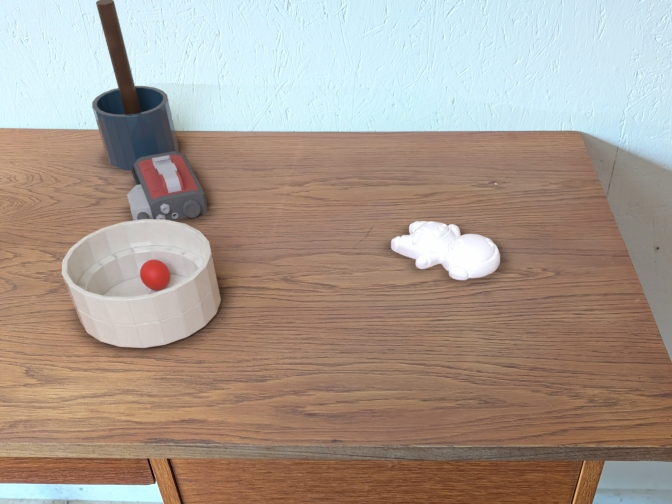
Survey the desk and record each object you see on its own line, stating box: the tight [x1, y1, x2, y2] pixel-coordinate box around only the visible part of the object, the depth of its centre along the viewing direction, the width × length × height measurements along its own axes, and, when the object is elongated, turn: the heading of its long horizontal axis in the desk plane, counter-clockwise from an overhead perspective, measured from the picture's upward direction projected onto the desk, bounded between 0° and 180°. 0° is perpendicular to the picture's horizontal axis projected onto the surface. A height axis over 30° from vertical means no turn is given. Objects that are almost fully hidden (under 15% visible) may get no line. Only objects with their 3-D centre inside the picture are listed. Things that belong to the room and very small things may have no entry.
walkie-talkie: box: [126, 151, 209, 221], centre depth 85 cm, size 9×4×20 cm
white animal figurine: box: [390, 220, 501, 281], centre depth 79 cm, size 9×12×3 cm
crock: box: [91, 85, 180, 171], centre depth 93 cm, size 9×9×7 cm
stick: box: [95, 0, 141, 115], centre depth 89 cm, size 2×2×17 cm
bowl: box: [61, 219, 222, 349], centre depth 72 cm, size 14×14×6 cm
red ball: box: [140, 260, 170, 290], centre depth 75 cm, size 3×3×3 cm
